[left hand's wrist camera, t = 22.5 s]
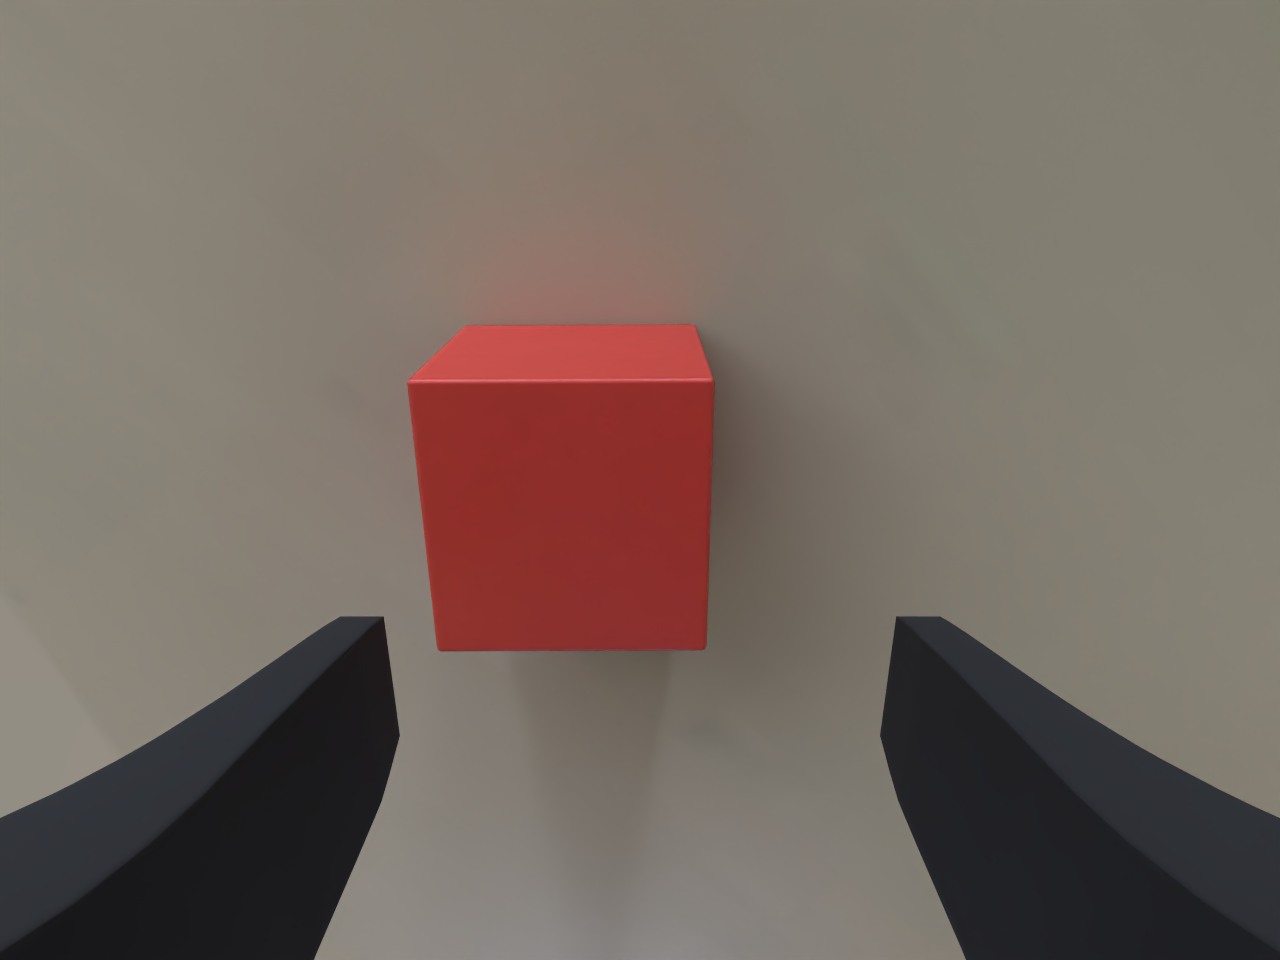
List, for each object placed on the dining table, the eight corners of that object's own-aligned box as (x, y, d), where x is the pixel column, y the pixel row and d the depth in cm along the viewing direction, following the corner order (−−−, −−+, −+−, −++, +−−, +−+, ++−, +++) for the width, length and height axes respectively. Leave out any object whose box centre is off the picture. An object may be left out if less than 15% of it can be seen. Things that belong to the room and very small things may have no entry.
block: (691, 541, 19) (706, 652, 14) (482, 542, 19) (436, 653, 14) (696, 323, 17) (715, 378, 13) (463, 324, 17) (405, 379, 13)
